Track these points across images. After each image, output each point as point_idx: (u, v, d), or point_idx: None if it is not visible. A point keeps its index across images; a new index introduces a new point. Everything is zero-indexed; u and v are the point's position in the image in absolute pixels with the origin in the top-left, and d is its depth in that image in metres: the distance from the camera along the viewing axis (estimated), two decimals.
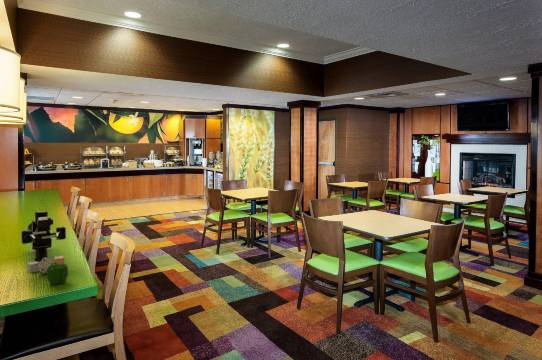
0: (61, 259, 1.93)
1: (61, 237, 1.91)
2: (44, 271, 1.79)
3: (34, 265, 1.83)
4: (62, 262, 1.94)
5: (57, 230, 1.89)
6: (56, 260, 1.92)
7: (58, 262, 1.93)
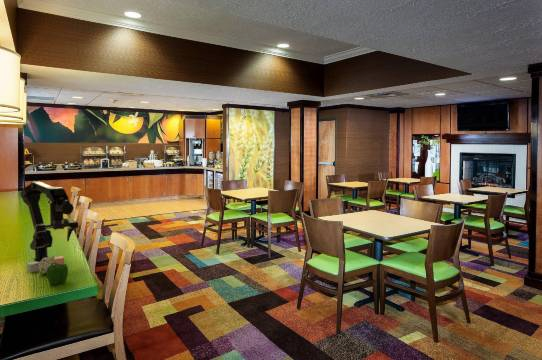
0: (61, 259, 1.93)
1: None
2: (44, 271, 1.79)
3: (34, 265, 1.83)
4: (62, 262, 1.94)
5: (70, 230, 1.95)
6: (56, 260, 1.92)
7: (58, 262, 1.93)
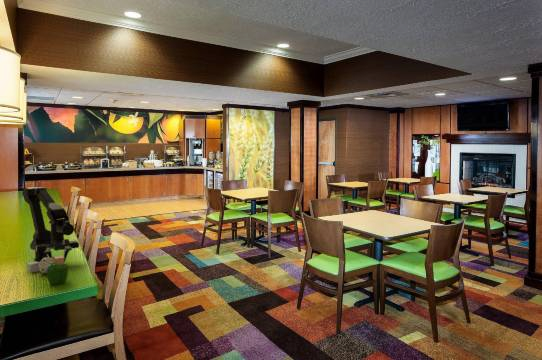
0: (61, 259, 1.93)
1: None
2: (44, 271, 1.79)
3: (34, 265, 1.83)
4: (62, 262, 1.94)
5: (66, 251, 1.95)
6: (56, 260, 1.92)
7: (58, 262, 1.93)
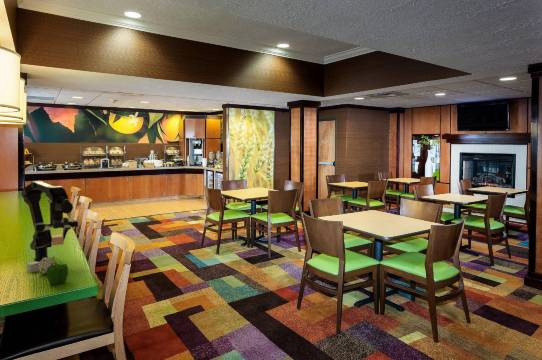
0: (60, 237, 1.92)
1: None
2: (44, 271, 1.79)
3: (34, 265, 1.83)
4: (61, 241, 1.92)
5: (65, 230, 1.93)
6: (55, 238, 1.91)
7: (57, 241, 1.91)
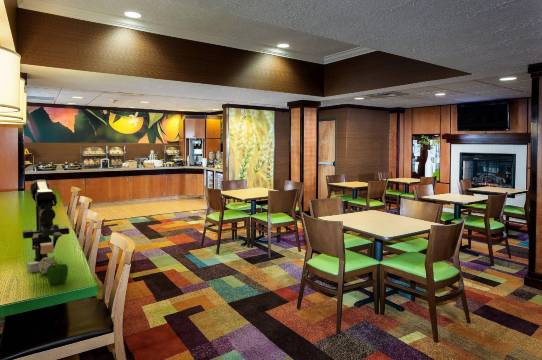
0: (50, 246, 1.79)
1: None
2: (44, 271, 1.79)
3: (34, 265, 1.83)
4: (51, 249, 1.80)
5: (55, 237, 1.81)
6: (45, 247, 1.78)
7: (47, 249, 1.79)
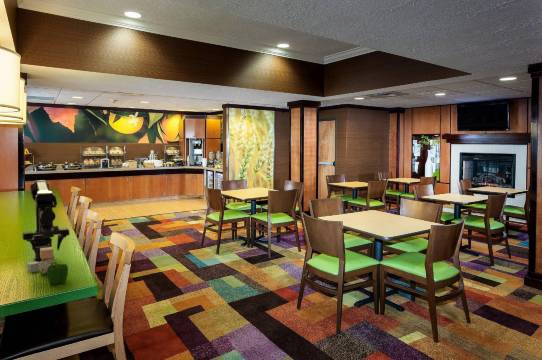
0: (50, 250, 1.80)
1: None
2: (44, 271, 1.79)
3: (34, 265, 1.83)
4: (51, 254, 1.80)
5: (60, 238, 1.82)
6: (44, 251, 1.78)
7: (47, 254, 1.79)
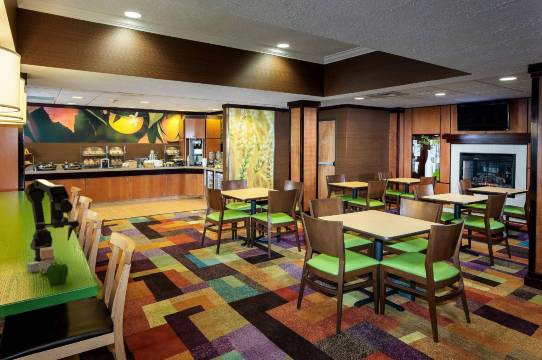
0: (50, 250, 1.80)
1: None
2: (44, 271, 1.79)
3: (34, 265, 1.83)
4: (51, 254, 1.80)
5: (70, 229, 1.91)
6: (44, 251, 1.78)
7: (47, 254, 1.79)
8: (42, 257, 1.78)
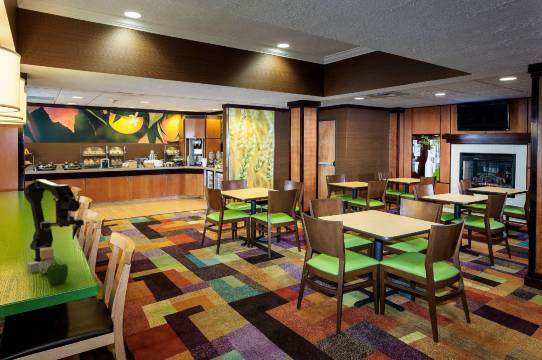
0: (50, 250, 1.80)
1: None
2: (44, 271, 1.79)
3: (34, 265, 1.83)
4: (51, 254, 1.80)
5: (75, 228, 1.94)
6: (45, 251, 1.78)
7: (47, 254, 1.79)
8: (42, 257, 1.78)
